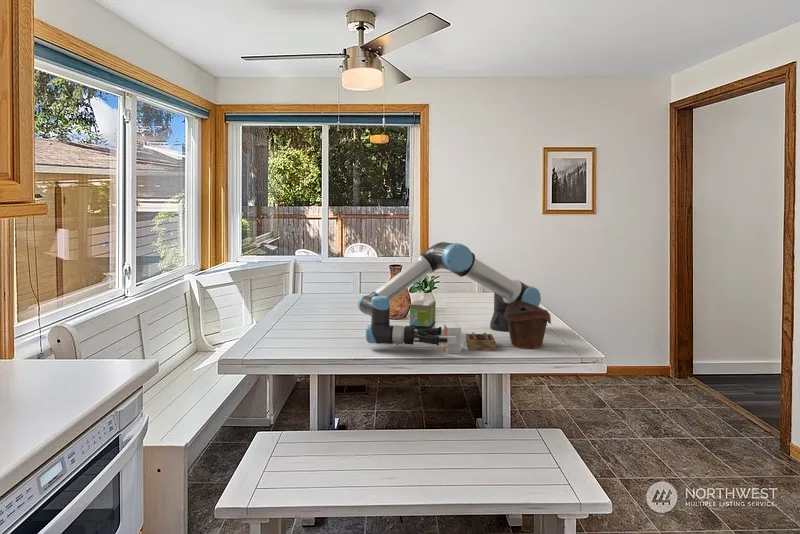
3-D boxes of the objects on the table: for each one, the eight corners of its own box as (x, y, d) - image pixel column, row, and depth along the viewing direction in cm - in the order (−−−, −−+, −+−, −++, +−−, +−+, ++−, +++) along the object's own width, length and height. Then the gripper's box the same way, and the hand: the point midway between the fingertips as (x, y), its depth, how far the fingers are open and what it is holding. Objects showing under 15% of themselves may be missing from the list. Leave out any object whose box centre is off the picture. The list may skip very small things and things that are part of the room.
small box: (443, 349, 242) (443, 323, 241) (457, 348, 242) (457, 323, 241) (446, 353, 234) (447, 327, 233) (460, 353, 234) (461, 327, 233)
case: (543, 352, 235) (544, 308, 233) (496, 346, 245) (497, 304, 244) (557, 344, 250) (558, 302, 248) (512, 339, 260) (513, 299, 259)
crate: (491, 343, 252) (491, 332, 251) (495, 350, 239) (495, 339, 238) (465, 343, 252) (465, 332, 252) (468, 350, 239) (468, 339, 239)
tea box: (430, 337, 263) (431, 304, 262) (408, 336, 265) (408, 304, 264) (435, 330, 278) (435, 299, 276) (414, 329, 280) (414, 299, 278)
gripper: (407, 337, 252) (457, 338, 250) (400, 351, 228) (455, 353, 225) (407, 320, 252) (457, 321, 249) (400, 332, 227) (455, 333, 224)
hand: (456, 336), depth 237 cm, fingers open, 13 cm apart
